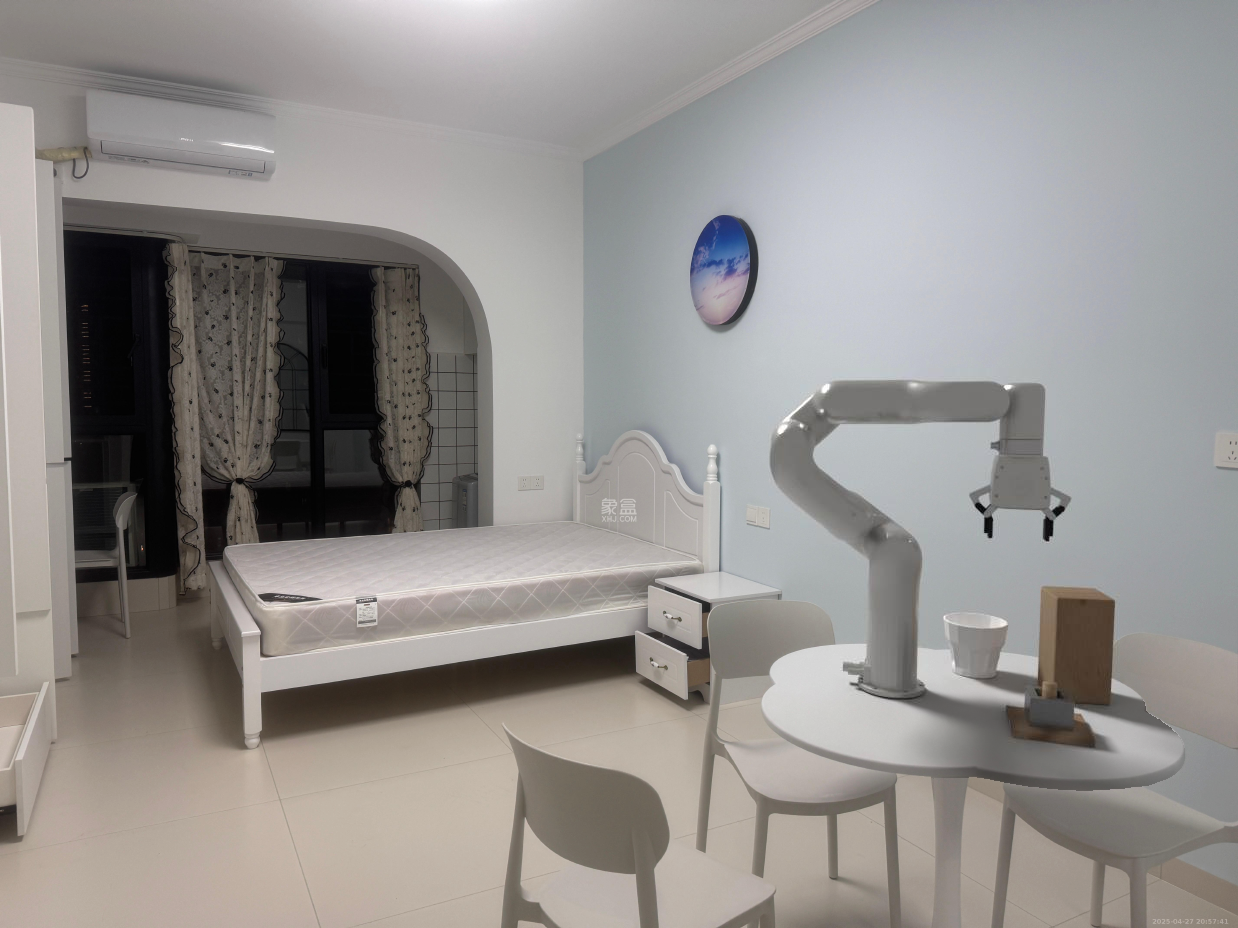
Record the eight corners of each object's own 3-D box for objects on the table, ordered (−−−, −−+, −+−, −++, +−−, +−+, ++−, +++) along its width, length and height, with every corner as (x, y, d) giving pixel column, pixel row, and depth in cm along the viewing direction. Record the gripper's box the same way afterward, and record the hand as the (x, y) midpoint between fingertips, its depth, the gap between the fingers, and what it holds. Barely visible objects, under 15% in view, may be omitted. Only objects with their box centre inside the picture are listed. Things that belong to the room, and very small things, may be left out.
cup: (936, 660, 177) (937, 611, 176) (997, 664, 174) (999, 613, 173) (948, 679, 164) (949, 626, 164) (1014, 683, 162) (1016, 629, 161)
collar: (1029, 726, 137) (1030, 697, 137) (1024, 712, 144) (1025, 684, 143) (1073, 731, 135) (1074, 702, 135) (1066, 717, 141) (1067, 689, 141)
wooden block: (1111, 706, 150) (1116, 599, 149) (1052, 702, 152) (1057, 597, 151) (1091, 687, 160) (1095, 587, 158) (1036, 684, 162) (1040, 585, 160)
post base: (1013, 736, 136) (1015, 690, 135) (1006, 711, 147) (1007, 668, 147) (1095, 747, 132) (1097, 699, 131) (1080, 720, 143) (1082, 676, 143)
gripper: (972, 448, 152) (969, 539, 153) (1076, 450, 146) (1072, 544, 147) (969, 447, 159) (966, 533, 160) (1069, 448, 153) (1065, 538, 154)
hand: (1017, 538), depth 154 cm, fingers open, 9 cm apart
